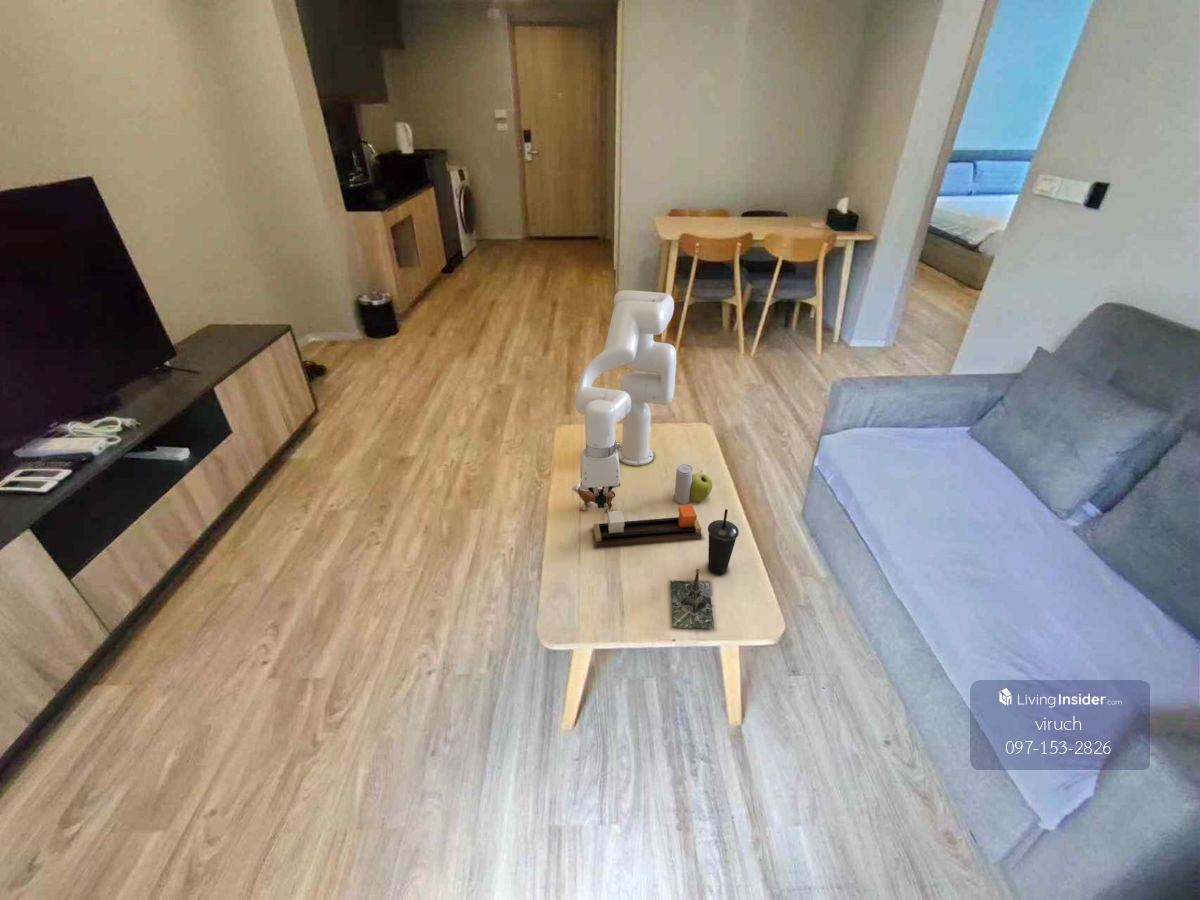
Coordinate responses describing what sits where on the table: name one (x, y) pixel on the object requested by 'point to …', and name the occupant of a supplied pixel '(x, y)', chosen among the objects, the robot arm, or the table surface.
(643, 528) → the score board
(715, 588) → the table surface
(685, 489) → the beverage can
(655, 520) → the rails
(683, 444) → the table surface
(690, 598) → the eiffel tower figurine
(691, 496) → the apple
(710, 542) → the drinking cup
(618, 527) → the white boxy piece
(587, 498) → the bull figurine
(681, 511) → the orange rectangular block
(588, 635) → the table surface
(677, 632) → the table surface
